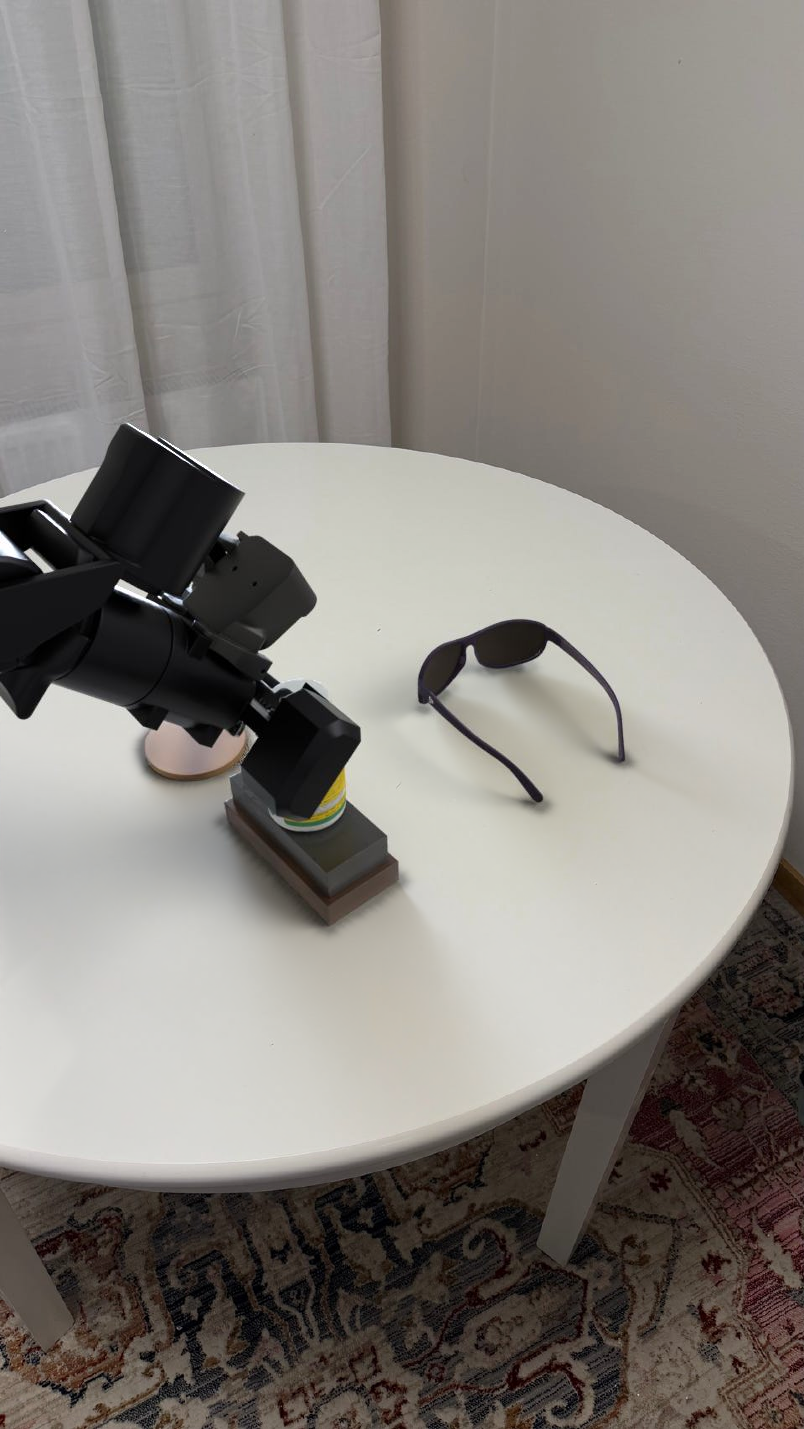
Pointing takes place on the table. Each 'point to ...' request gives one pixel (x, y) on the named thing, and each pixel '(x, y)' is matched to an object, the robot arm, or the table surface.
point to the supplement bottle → (336, 795)
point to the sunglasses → (498, 650)
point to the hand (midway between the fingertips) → (318, 725)
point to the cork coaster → (190, 753)
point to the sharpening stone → (318, 854)
